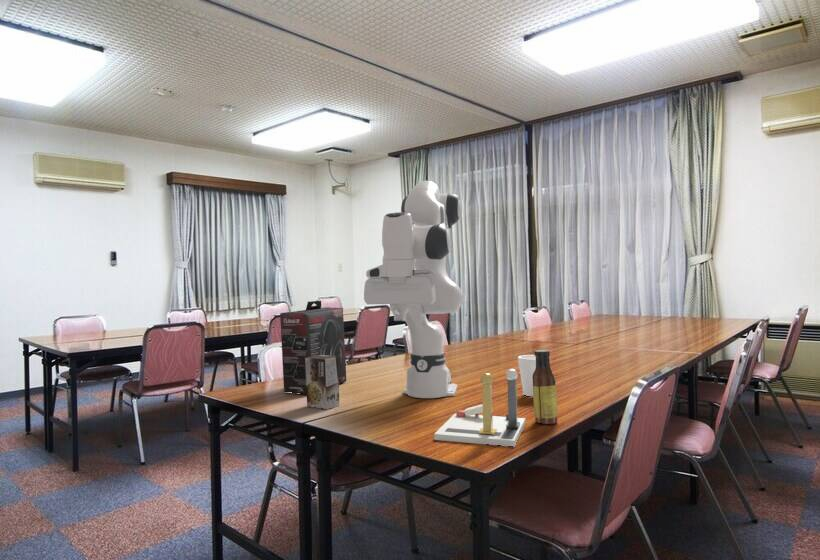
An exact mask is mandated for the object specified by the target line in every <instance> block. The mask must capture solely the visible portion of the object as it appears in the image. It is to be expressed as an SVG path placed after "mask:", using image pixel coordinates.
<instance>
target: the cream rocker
mask: <svg viewBox="0 0 820 560" xmlns="http://www.w3.org/2000/svg"><path fill="white" fill-rule="evenodd" d="M464 412H465V415H466V417H467V416H470V415H475V414H478V413H479V414H481V413H482V414H483V403H482V404H478V405H474V406H471V407H467V408H465V411H464Z"/></svg>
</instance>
